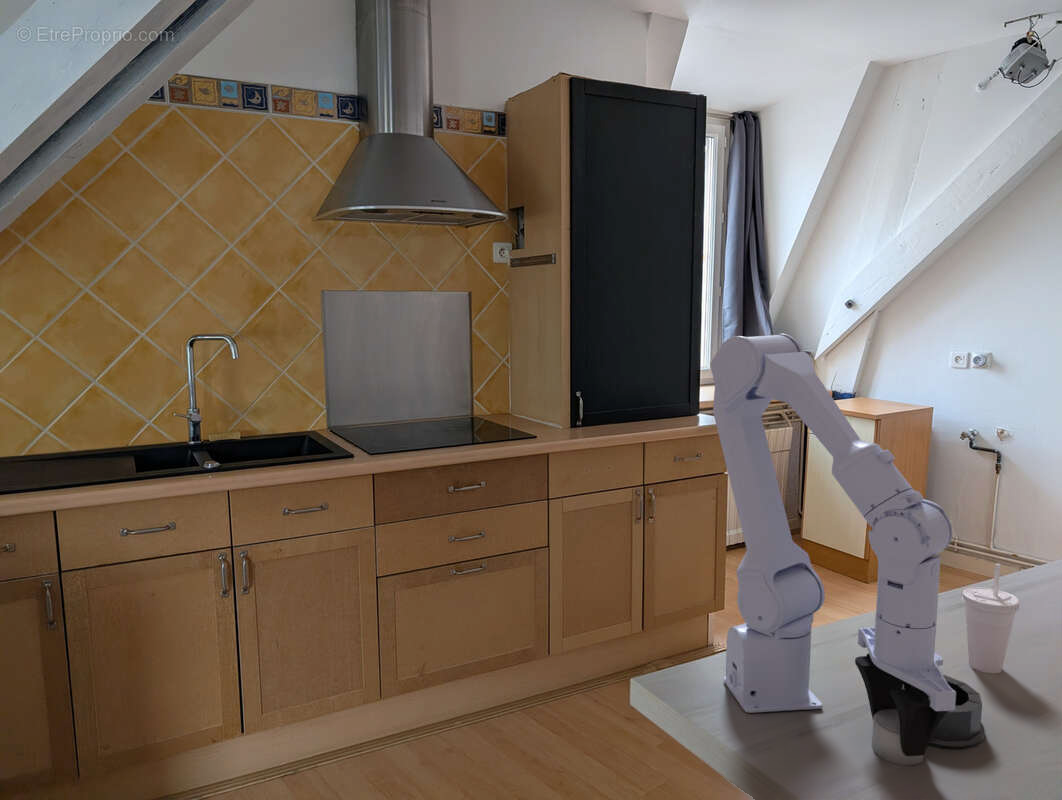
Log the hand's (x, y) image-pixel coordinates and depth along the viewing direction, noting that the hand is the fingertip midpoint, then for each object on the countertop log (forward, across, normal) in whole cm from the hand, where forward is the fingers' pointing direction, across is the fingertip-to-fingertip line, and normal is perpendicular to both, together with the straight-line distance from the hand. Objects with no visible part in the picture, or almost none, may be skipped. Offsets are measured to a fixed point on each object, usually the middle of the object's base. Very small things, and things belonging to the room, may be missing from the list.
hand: (898, 738), depth 81 cm
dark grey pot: (+1, +4, -7) cm, 8 cm away
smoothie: (+2, +16, -22) cm, 28 cm away
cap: (+1, 0, 0) cm, 1 cm away
